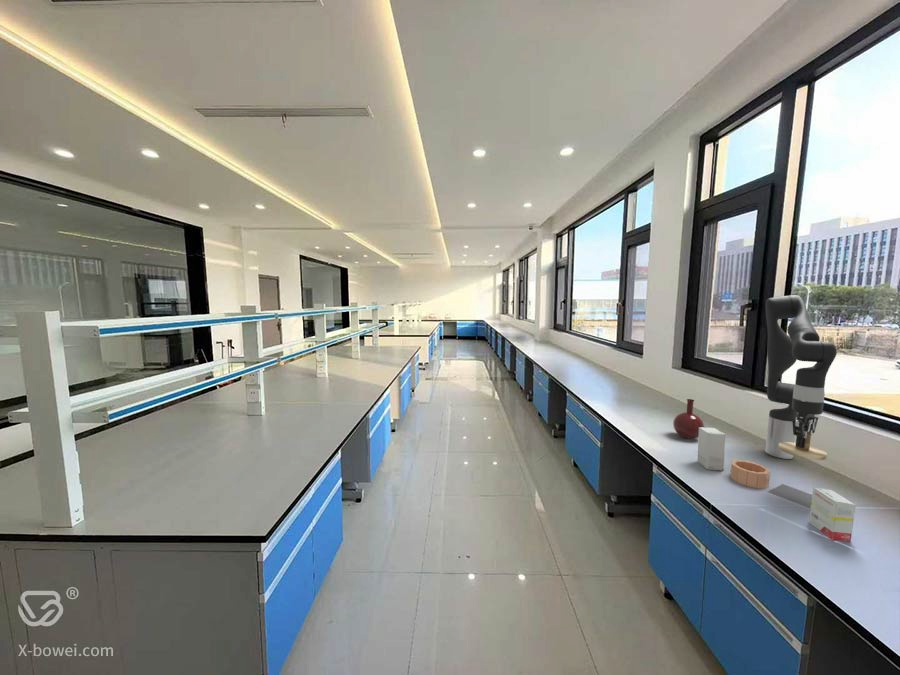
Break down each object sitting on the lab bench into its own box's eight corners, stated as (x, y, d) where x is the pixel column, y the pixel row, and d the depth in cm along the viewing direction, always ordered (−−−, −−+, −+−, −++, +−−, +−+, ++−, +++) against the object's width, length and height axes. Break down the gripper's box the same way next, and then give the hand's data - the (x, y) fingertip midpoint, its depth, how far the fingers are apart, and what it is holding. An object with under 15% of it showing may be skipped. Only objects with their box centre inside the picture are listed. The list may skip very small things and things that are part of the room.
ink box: (852, 543, 100) (857, 504, 98) (831, 540, 101) (836, 502, 99) (826, 524, 108) (831, 488, 107) (807, 522, 109) (812, 486, 108)
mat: (782, 484, 132) (782, 484, 131) (827, 501, 121) (827, 500, 121) (767, 492, 126) (767, 491, 126) (812, 510, 115) (812, 509, 115)
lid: (787, 442, 130) (789, 424, 129) (833, 455, 119) (835, 435, 118) (772, 448, 125) (774, 429, 124) (818, 462, 114) (821, 441, 113)
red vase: (702, 436, 179) (705, 398, 177) (704, 445, 168) (707, 405, 166) (672, 431, 186) (674, 395, 184) (672, 439, 175) (675, 400, 173)
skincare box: (723, 471, 142) (727, 434, 140) (705, 469, 143) (708, 433, 142) (712, 462, 150) (715, 427, 148) (695, 460, 151) (698, 426, 150)
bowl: (739, 472, 141) (740, 458, 141) (773, 484, 132) (775, 469, 131) (724, 478, 136) (726, 463, 136) (759, 491, 127) (761, 476, 126)
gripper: (802, 393, 126) (797, 438, 128) (784, 398, 120) (779, 446, 122) (831, 398, 120) (825, 446, 121) (814, 404, 113) (808, 454, 115)
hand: (802, 445), depth 122 cm, fingers closed on lid, 3 cm apart
